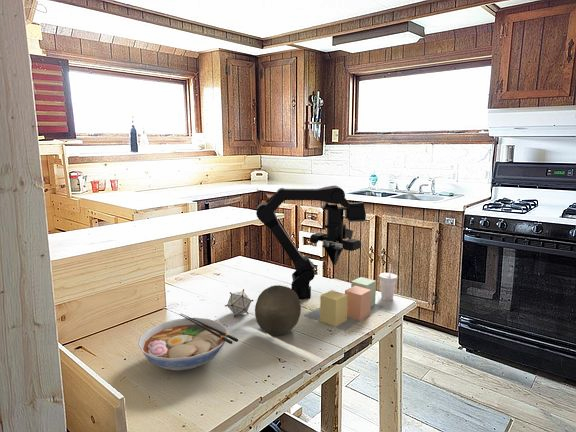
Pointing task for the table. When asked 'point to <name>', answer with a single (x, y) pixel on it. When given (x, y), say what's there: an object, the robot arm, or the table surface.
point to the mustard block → (333, 308)
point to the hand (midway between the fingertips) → (334, 264)
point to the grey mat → (350, 321)
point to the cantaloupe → (277, 310)
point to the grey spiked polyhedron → (239, 303)
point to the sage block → (366, 286)
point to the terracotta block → (358, 302)
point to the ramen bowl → (184, 342)
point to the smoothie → (387, 284)
